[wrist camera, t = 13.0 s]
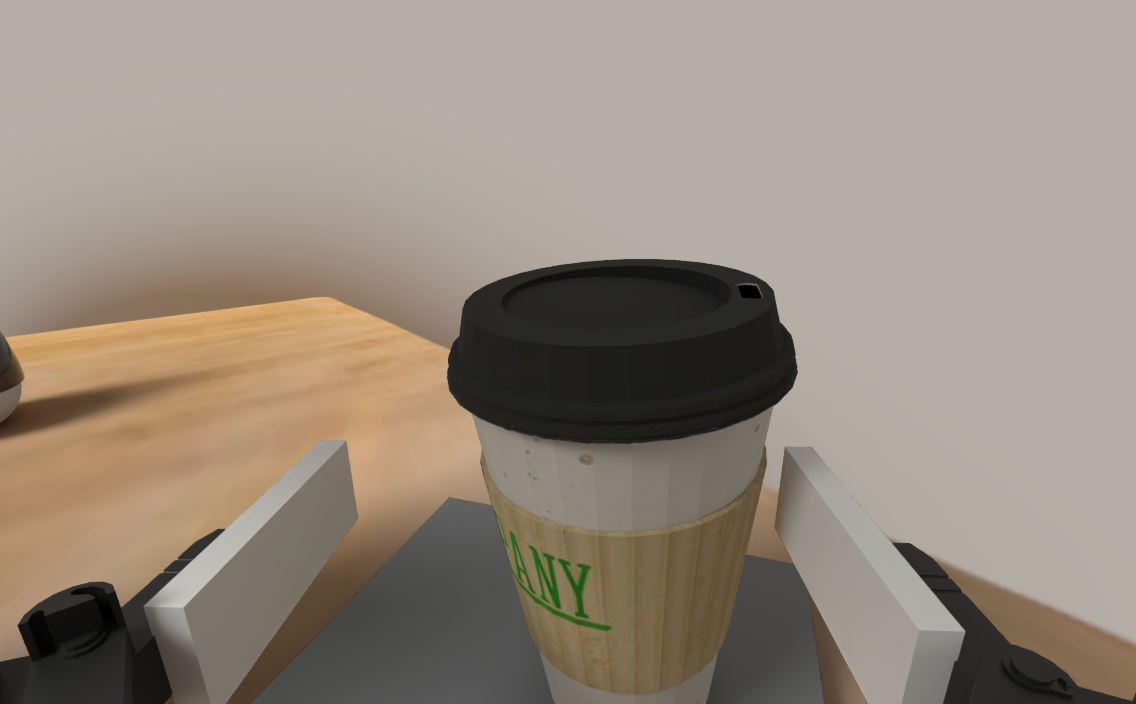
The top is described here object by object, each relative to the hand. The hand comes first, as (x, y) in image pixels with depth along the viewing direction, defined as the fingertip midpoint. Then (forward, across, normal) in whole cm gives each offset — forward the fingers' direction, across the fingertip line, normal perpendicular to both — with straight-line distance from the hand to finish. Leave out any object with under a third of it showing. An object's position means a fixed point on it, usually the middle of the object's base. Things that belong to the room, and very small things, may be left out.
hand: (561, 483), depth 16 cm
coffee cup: (+2, +2, -10) cm, 10 cm away
